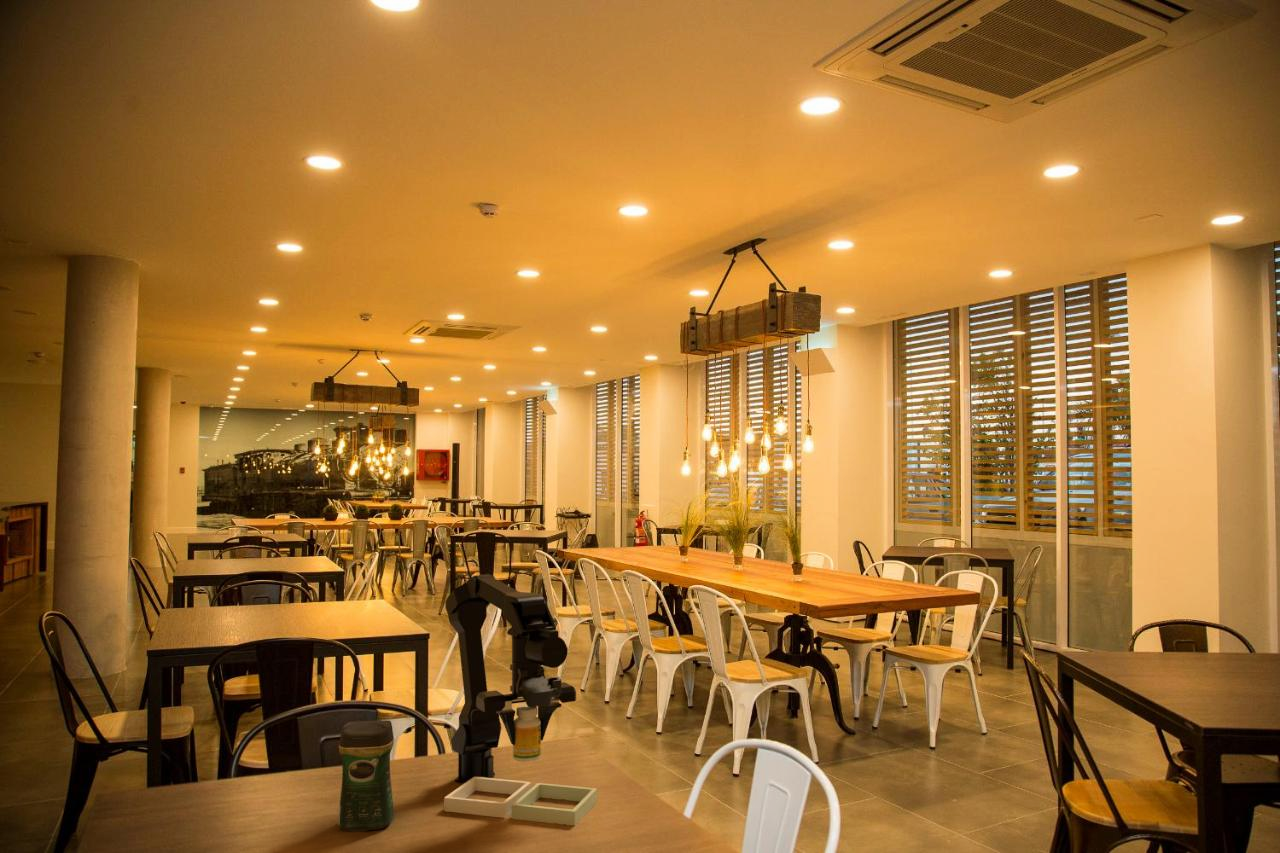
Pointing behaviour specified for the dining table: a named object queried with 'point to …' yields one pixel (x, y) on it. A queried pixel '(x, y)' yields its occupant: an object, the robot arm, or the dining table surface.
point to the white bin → (482, 807)
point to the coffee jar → (366, 775)
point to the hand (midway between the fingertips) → (527, 742)
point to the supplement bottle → (527, 735)
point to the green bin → (554, 815)
